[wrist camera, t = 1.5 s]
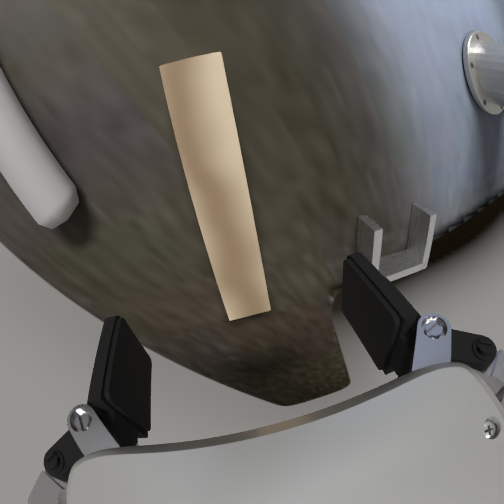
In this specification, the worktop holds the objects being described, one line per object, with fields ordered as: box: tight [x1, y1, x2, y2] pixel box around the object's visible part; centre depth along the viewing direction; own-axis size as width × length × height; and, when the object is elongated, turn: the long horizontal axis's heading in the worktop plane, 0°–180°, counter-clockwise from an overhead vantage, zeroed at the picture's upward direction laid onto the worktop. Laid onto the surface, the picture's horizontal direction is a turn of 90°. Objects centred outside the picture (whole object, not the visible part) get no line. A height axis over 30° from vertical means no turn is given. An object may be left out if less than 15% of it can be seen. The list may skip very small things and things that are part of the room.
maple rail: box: [159, 52, 271, 321], centre depth 22 cm, size 4×22×5 cm, turn 10°
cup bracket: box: [356, 202, 436, 282], centre depth 29 cm, size 9×8×4 cm
